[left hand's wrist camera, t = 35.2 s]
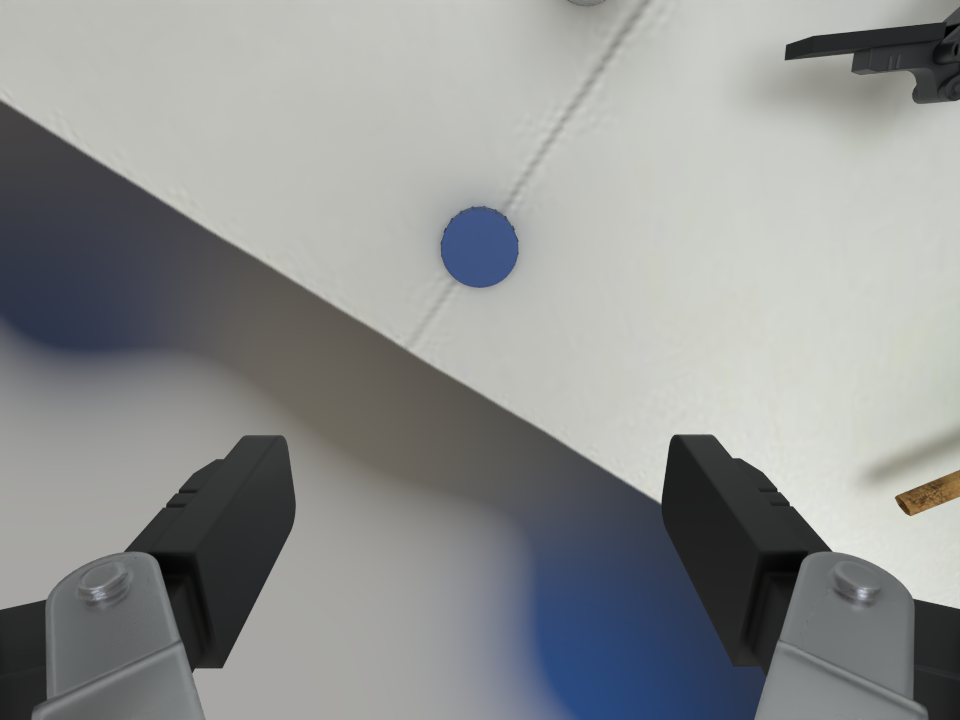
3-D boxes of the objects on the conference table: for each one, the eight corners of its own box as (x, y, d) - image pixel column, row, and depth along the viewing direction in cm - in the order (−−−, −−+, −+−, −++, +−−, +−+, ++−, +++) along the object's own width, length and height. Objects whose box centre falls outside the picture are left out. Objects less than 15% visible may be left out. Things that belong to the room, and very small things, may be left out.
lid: (526, 218, 39) (529, 222, 37) (504, 289, 41) (505, 297, 38) (453, 196, 38) (451, 199, 36) (434, 269, 40) (431, 276, 38)
